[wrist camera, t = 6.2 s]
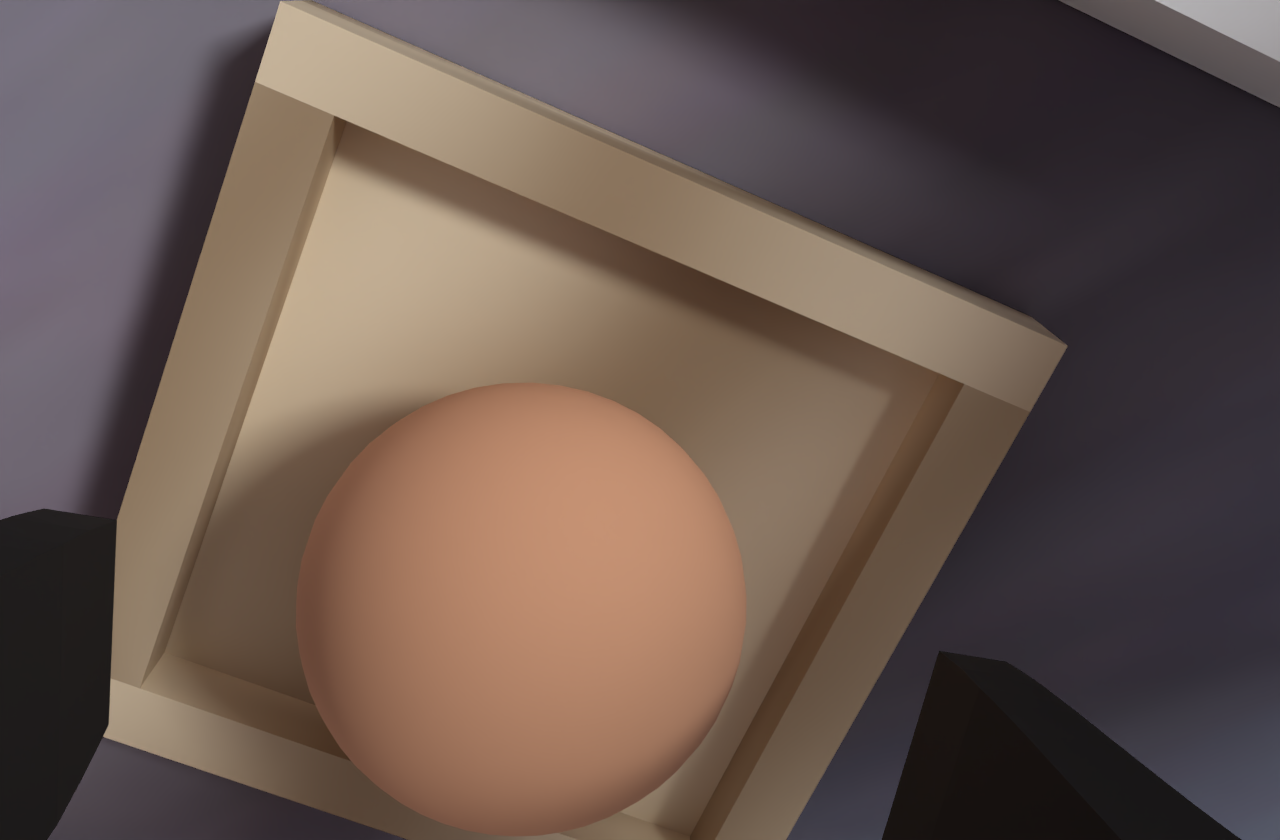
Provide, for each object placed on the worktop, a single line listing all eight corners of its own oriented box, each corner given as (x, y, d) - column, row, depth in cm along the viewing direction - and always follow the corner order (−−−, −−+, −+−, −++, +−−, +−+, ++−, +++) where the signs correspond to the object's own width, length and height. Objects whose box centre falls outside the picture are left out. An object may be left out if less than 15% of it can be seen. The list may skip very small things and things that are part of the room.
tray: (1030, 316, 14) (1067, 345, 13) (717, 880, 16) (724, 946, 15) (311, -1, 12) (280, 1, 11) (96, 666, 15) (53, 720, 14)
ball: (758, 363, 14) (829, 532, 9) (684, 696, 15) (718, 968, 11) (364, 299, 13) (259, 446, 9) (327, 648, 15) (222, 912, 10)
